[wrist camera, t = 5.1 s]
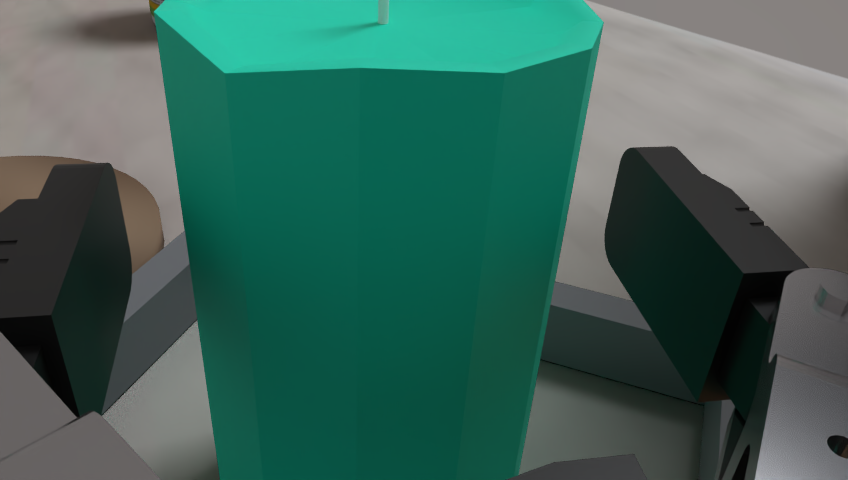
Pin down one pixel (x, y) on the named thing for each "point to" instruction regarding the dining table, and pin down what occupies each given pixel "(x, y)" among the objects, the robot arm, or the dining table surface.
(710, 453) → the case
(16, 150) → the dining table surface
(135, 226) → the coaster
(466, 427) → the candle
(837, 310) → the robot arm
